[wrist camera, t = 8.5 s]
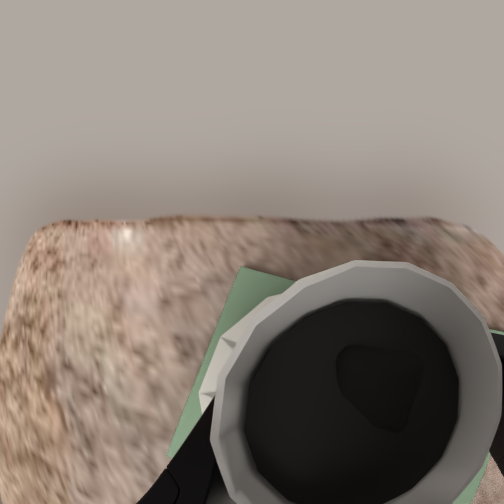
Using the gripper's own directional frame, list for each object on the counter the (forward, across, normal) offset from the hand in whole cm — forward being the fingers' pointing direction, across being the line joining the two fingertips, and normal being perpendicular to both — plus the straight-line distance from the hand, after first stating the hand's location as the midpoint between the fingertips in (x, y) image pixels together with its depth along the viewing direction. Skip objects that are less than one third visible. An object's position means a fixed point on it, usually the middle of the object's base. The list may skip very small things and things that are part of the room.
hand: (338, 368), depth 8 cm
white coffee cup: (+4, 0, +6) cm, 7 cm away
